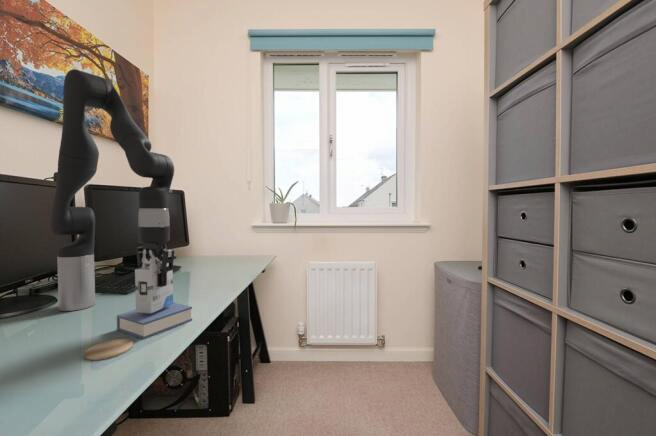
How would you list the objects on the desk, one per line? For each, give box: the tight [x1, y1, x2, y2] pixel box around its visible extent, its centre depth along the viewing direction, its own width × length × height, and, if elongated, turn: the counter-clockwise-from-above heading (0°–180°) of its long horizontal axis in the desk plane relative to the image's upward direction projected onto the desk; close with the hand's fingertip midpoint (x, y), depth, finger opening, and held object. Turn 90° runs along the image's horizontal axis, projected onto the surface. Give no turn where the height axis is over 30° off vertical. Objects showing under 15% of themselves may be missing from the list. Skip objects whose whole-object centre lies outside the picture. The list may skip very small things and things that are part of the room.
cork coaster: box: [83, 338, 134, 361], centre depth 67 cm, size 9×9×1 cm
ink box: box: [134, 257, 174, 313], centre depth 82 cm, size 9×5×15 cm, turn 168°
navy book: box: [116, 301, 193, 340], centre depth 82 cm, size 12×14×4 cm
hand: (155, 284), depth 82 cm, fingers closed on ink box, 5 cm apart
